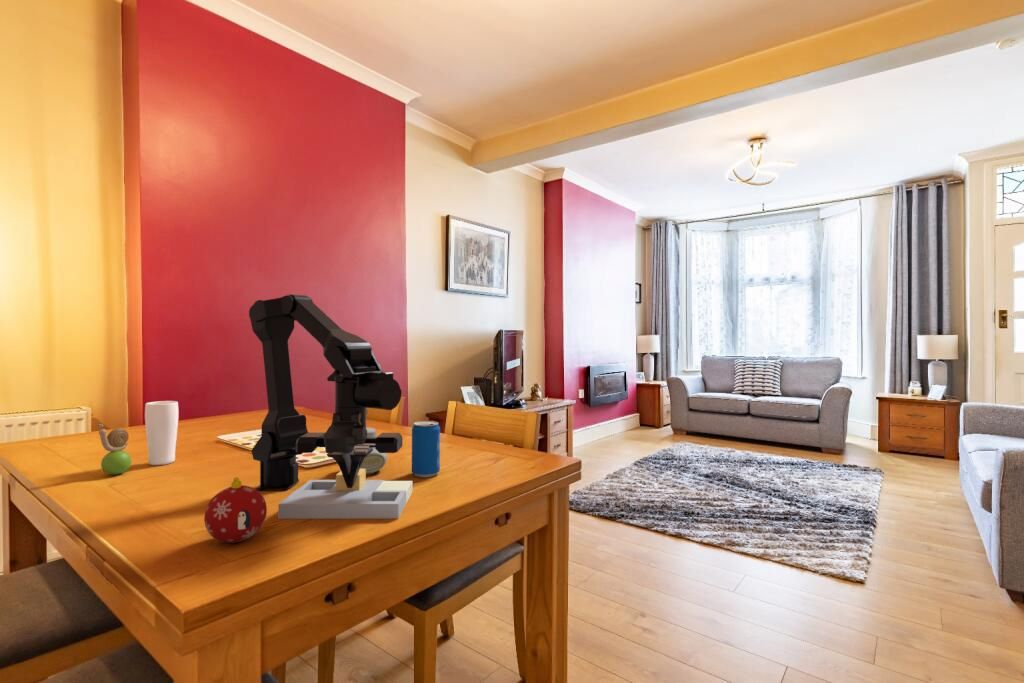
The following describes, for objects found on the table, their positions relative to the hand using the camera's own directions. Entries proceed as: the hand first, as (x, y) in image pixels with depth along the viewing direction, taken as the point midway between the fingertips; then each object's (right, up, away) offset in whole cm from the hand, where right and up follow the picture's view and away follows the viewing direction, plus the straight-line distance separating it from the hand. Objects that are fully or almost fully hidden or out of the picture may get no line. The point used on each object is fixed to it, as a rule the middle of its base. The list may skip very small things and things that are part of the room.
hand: (350, 487), depth 95 cm
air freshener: (-4, -3, +23) cm, 23 cm away
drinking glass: (-56, -2, +28) cm, 62 cm away
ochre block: (-1, -1, +3) cm, 4 cm away
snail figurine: (-59, -3, +18) cm, 62 cm away
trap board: (0, -3, +1) cm, 3 cm away
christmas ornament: (-13, -4, -16) cm, 21 cm away
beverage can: (+11, -3, +21) cm, 24 cm away
